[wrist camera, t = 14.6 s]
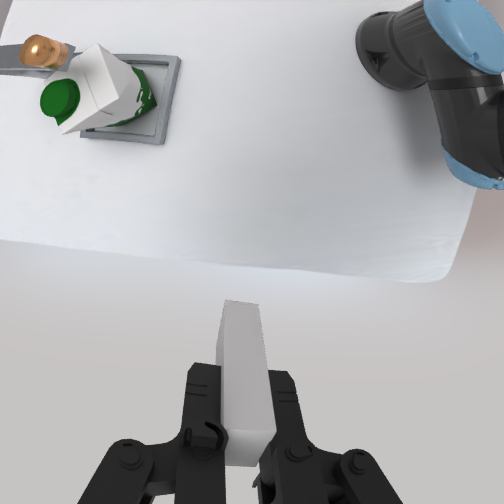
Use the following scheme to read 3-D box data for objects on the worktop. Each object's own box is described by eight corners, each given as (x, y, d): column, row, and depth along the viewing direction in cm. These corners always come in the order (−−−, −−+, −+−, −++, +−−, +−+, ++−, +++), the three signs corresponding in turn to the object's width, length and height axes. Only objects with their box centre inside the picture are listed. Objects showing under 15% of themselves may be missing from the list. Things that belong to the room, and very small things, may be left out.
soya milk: (99, 89, 38) (28, 79, 20) (146, 62, 37) (94, 30, 19) (117, 133, 42) (50, 144, 24) (165, 107, 41) (120, 98, 23)
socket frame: (102, 57, 36) (94, 54, 33) (180, 60, 38) (177, 56, 35) (87, 136, 41) (79, 137, 39) (164, 143, 43) (159, 144, 41)
